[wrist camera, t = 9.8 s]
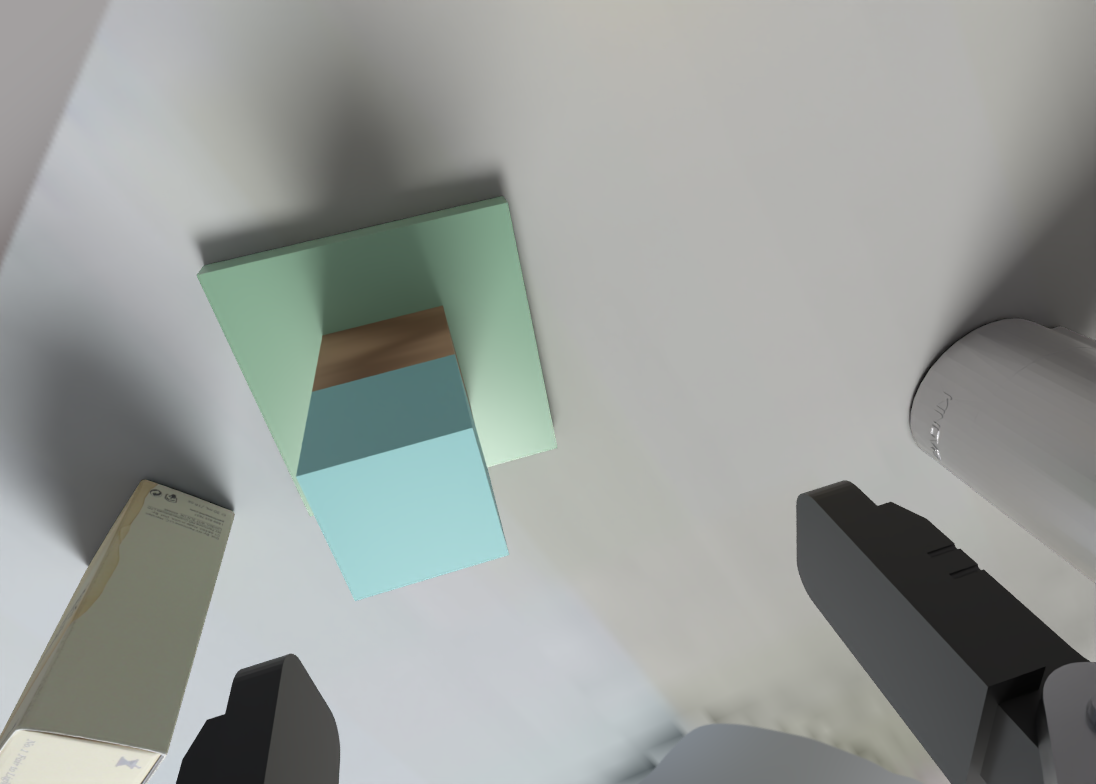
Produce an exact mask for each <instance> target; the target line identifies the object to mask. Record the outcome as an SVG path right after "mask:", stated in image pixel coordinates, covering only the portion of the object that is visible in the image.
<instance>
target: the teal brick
mask: <svg viewBox="0 0 1096 784" xmlns="http://www.w3.org/2000/svg"><path fill="white" fill-rule="evenodd" d="M296 478H297V480H298V482H299V484H300V486H301V488H302V491H303V493H304V495H305V497H306V499H307V501H308V503H309V505H310V507H311V509H312V512H313V514H314V516H315V518H316V520H317V522H318V524H319V526H320V528H321V530H322V533H323V535H324V537H325V539H326V541H327V543H328V545H329V547H330V549H331V551H332V554H333V556H334V558H335V560H336V562H337V564H338V566H339V568H340V570H341V572H342V575H343V577H344V579H345V581H346V583H347V585H348V587H349V589H350V591H351V593H352V595H353V598H354V600H355V601H357V600H360V599H364V598H367V597H370V596H374V595H377V594H380V593H384V592H387V591H390V590H394V589H397V588H400V587H404V586H407V585H410V584H414V583H417V582H420V581H424V580H427V579H430V578H434V577H437V576H440V575H444V574H447V573H450V572H454V571H457V570H460V569H464V568H467V567H470V566H474V565H477V564H480V563H484V562H487V561H490V560H494V559H497V558H500V557H504V556H507V555H509V553H508V549H507V545H506V541H505V537H504V533H503V529H502V525H501V521H500V517H499V513H498V509H497V505H496V501H495V497H494V493H493V489H492V485H491V481H490V477H489V473H488V469H487V465H486V462H485V458H484V455H483V451H482V448H481V444H480V440H479V437H478V433H477V430H476V426H475V423H474V419H473V416H472V412H471V409H470V405H469V402H468V398H467V395H466V391H465V388H464V384H463V381H462V377H461V374H460V370H459V367H458V363H457V360H456V356H455V354H454V355H450V356H446V357H442V358H438V359H435V360H431V361H427V362H423V363H419V364H416V365H412V366H408V367H404V368H401V369H397V370H393V371H389V372H385V373H382V374H378V375H374V376H370V377H366V378H363V379H359V380H355V381H351V382H348V383H344V384H340V385H336V386H332V387H329V388H325V389H321V390H317V391H313V392H312V394H311V399H310V404H309V410H308V415H307V420H306V426H305V431H304V436H303V442H302V447H301V452H300V458H299V463H298V468H297V474H296Z"/></svg>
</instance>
